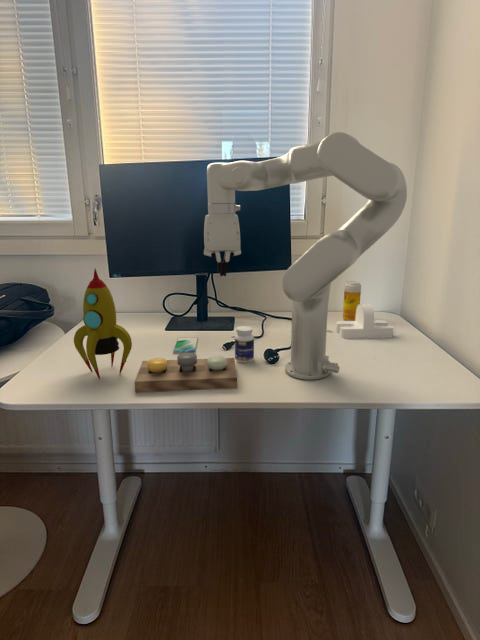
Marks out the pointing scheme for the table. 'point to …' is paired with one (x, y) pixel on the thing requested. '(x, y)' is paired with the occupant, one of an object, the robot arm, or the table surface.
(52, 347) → the table surface
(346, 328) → the u-slot stand
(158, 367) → the button amber
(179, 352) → the smartphone
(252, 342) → the pill bottle
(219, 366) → the button sage
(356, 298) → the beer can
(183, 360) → the grey rounded lump
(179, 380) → the console
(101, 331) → the toy rocket
